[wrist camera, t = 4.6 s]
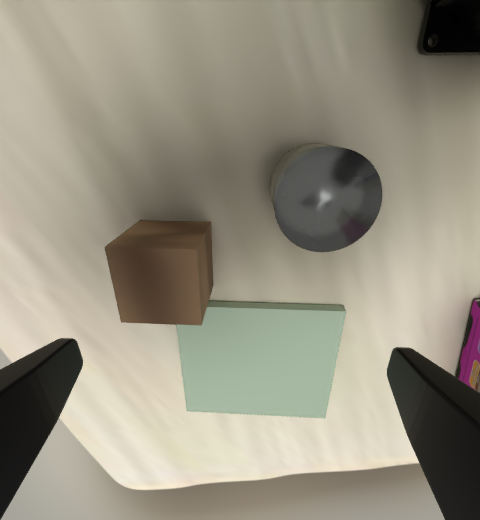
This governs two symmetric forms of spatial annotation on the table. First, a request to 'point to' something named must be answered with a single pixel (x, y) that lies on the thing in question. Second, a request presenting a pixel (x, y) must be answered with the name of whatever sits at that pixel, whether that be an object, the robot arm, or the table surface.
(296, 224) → the metal cylinder
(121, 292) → the walnut block
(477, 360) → the candy bar box
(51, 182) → the table surface
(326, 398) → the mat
